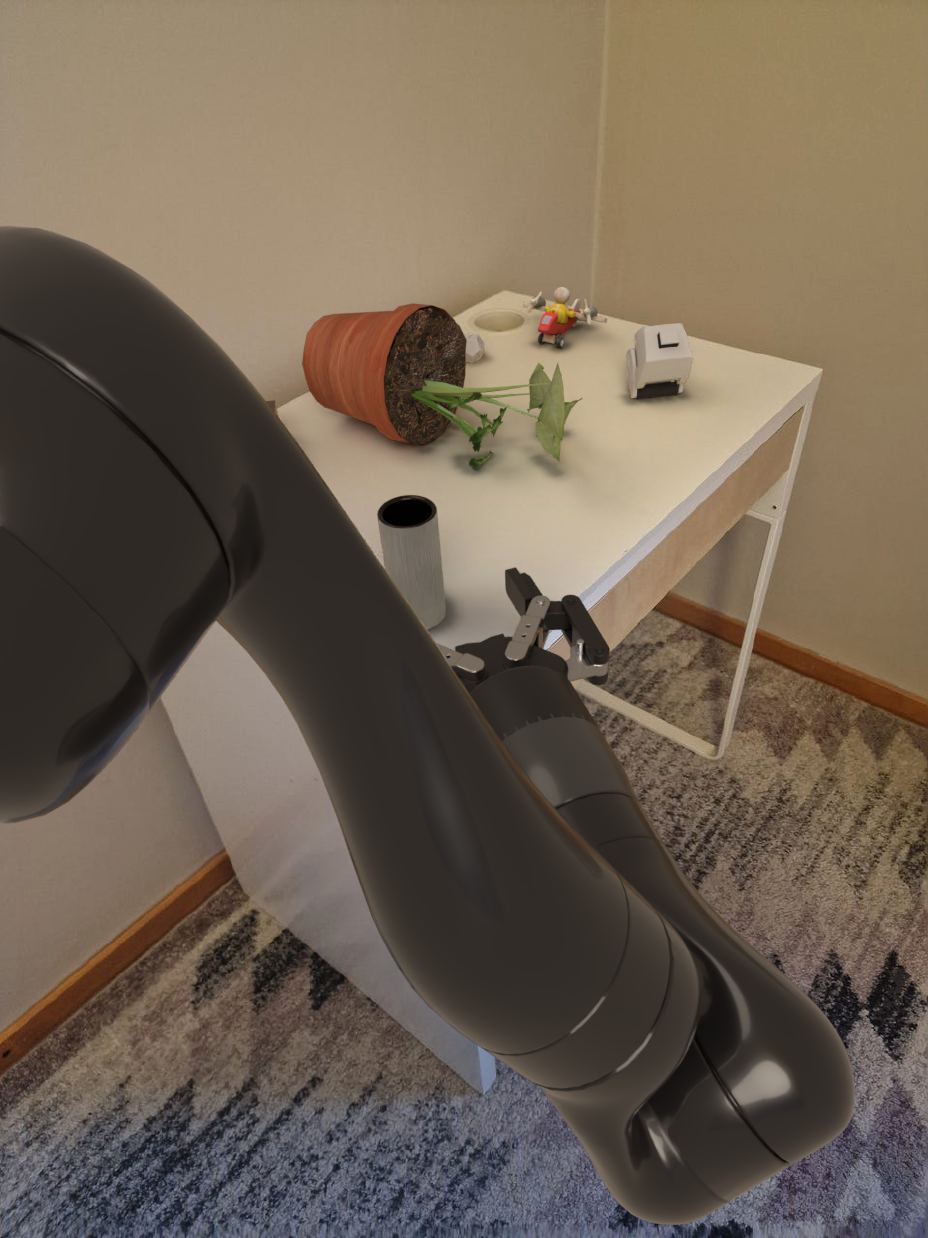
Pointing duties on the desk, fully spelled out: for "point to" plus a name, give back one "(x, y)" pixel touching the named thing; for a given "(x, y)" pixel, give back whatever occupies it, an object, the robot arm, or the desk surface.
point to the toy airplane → (560, 316)
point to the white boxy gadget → (659, 361)
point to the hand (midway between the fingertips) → (449, 594)
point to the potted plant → (415, 377)
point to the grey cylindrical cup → (414, 554)
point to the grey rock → (474, 347)
